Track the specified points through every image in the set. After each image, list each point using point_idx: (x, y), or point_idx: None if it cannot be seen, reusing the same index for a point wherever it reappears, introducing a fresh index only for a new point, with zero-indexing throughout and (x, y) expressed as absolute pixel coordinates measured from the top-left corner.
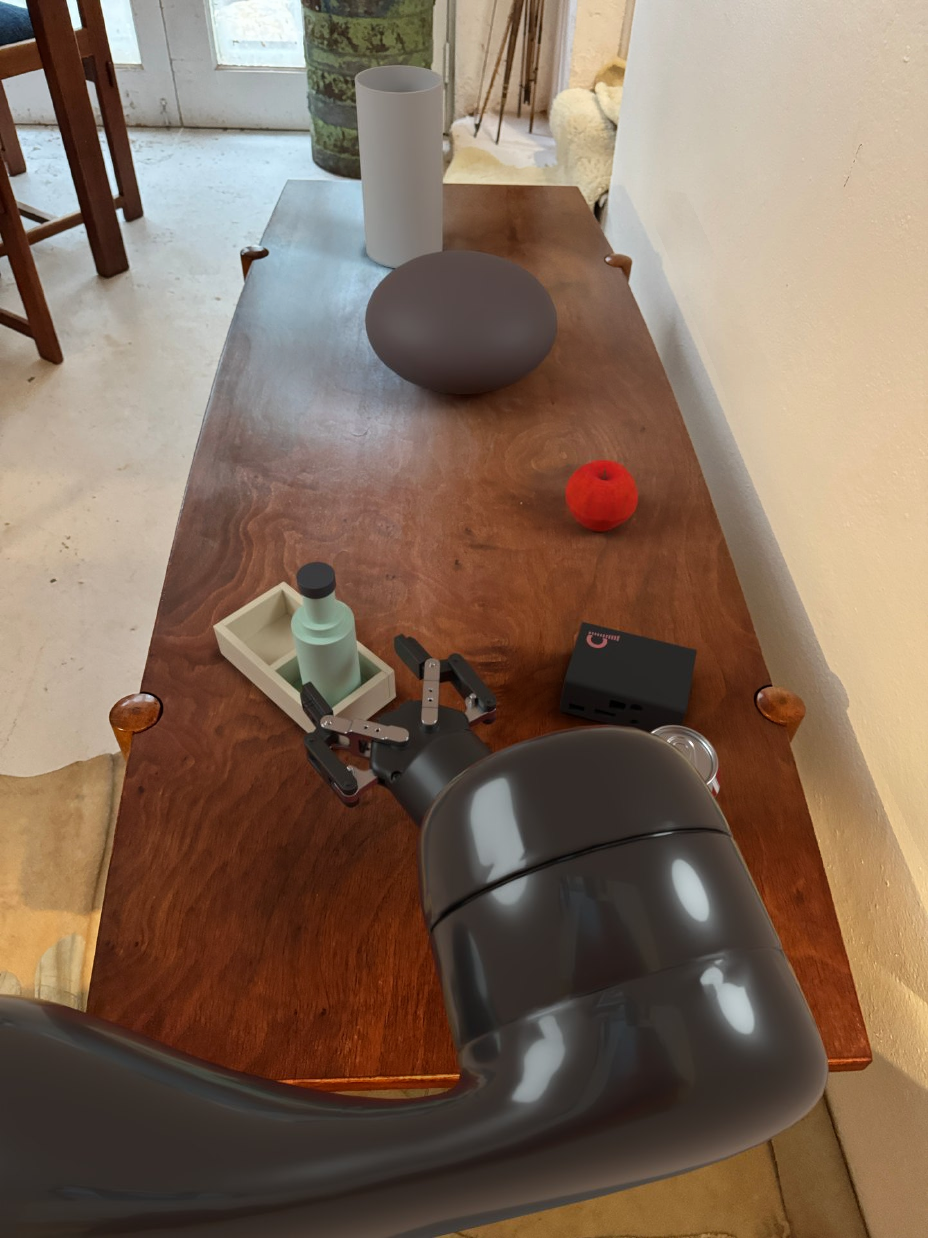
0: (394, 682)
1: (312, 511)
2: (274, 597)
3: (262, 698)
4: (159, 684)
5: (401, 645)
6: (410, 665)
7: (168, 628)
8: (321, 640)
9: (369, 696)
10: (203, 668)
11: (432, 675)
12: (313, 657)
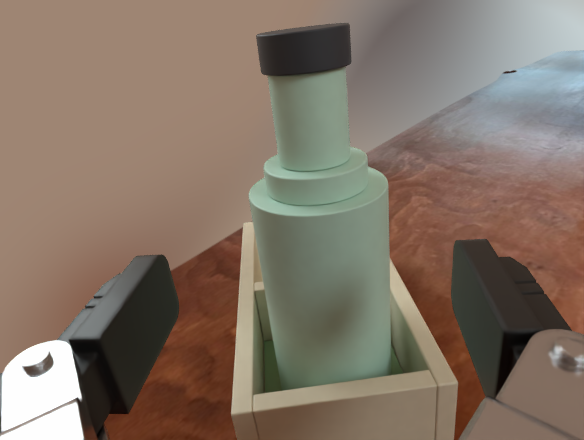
0: (453, 415)
1: (458, 187)
2: None
3: None
4: None
5: (465, 264)
6: (477, 346)
7: (232, 235)
8: (281, 207)
9: (375, 413)
10: (221, 279)
11: (553, 401)
12: (263, 249)
